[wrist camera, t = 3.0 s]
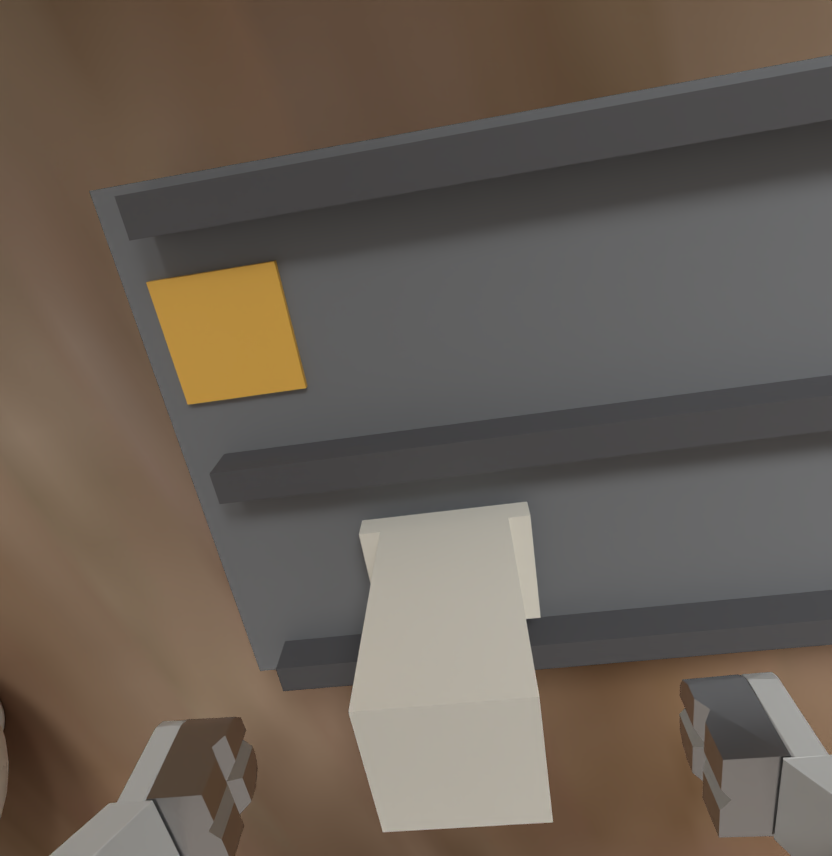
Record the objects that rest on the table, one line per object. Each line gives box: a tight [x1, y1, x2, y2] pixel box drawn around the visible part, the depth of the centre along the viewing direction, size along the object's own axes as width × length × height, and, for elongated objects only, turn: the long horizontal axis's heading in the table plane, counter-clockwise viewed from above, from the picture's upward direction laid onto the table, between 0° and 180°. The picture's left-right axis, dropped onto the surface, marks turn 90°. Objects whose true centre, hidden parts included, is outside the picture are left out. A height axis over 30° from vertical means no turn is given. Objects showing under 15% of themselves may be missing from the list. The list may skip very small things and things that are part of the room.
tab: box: [348, 502, 553, 832], centre depth 13 cm, size 3×4×6 cm
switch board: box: [89, 55, 832, 691], centre depth 14 cm, size 13×28×4 cm, turn 99°
